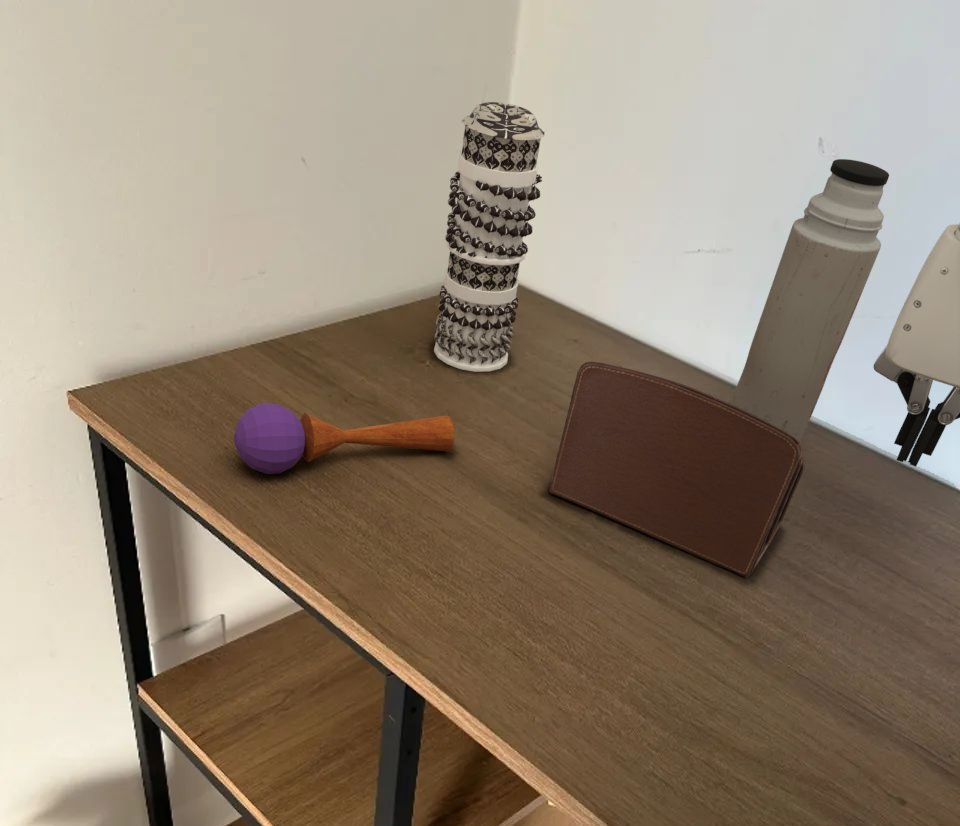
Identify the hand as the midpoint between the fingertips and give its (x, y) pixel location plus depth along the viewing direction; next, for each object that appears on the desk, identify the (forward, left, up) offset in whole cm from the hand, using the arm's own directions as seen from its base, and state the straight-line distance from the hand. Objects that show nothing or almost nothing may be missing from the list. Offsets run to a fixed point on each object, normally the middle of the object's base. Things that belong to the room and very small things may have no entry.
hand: (908, 456), depth 79 cm
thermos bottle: (+13, -16, -12) cm, 24 cm away
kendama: (+45, +14, -12) cm, 48 cm away
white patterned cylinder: (+46, -14, -12) cm, 50 cm away
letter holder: (+17, +2, -12) cm, 21 cm away
